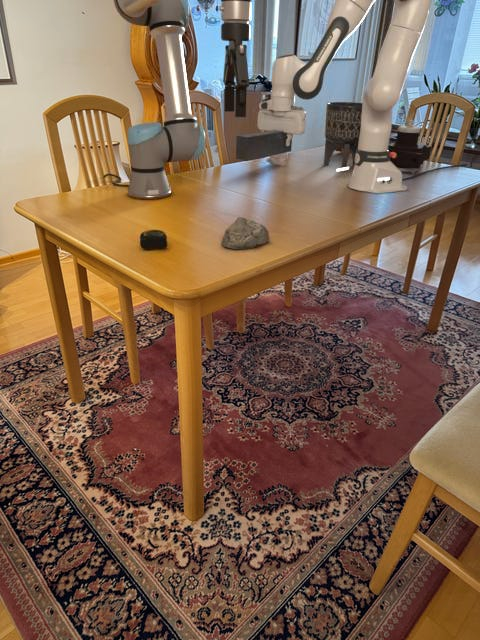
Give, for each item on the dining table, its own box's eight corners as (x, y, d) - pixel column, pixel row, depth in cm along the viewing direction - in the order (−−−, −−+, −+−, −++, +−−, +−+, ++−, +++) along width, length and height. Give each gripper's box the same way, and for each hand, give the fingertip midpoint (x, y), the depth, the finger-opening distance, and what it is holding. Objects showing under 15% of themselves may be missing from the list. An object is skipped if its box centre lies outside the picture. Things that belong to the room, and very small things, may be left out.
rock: (255, 233, 128) (256, 211, 124) (276, 242, 122) (278, 219, 119) (217, 244, 120) (217, 220, 117) (239, 254, 115) (239, 230, 111)
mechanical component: (377, 119, 195) (405, 114, 215) (369, 169, 206) (397, 160, 225) (427, 124, 183) (452, 118, 203) (415, 177, 194) (441, 167, 213)
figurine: (292, 163, 215) (294, 134, 209) (276, 168, 204) (278, 138, 198) (278, 161, 219) (279, 133, 212) (261, 166, 208) (262, 136, 202)
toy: (334, 147, 234) (333, 142, 247) (337, 160, 237) (336, 154, 250) (356, 140, 231) (354, 135, 243) (359, 153, 234) (356, 147, 246)
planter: (313, 167, 208) (319, 103, 195) (331, 160, 222) (338, 101, 209) (353, 173, 199) (362, 107, 185) (369, 166, 213) (379, 104, 199)
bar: (280, 149, 180) (282, 128, 176) (291, 151, 178) (292, 129, 174) (235, 159, 162) (236, 135, 158) (246, 161, 159) (247, 137, 155)
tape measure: (140, 252, 115) (139, 238, 113) (141, 242, 120) (140, 229, 119) (167, 251, 116) (166, 237, 114) (167, 241, 121) (166, 228, 120)
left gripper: (212, 24, 125) (213, 109, 135) (232, 19, 104) (231, 119, 115) (238, 25, 126) (237, 109, 137) (263, 20, 106) (259, 119, 116)
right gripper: (310, 106, 164) (307, 147, 171) (265, 102, 175) (264, 140, 182) (301, 107, 160) (297, 149, 167) (255, 103, 171) (254, 142, 178)
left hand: (234, 114), depth 126 cm, fingers open, 13 cm apart
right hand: (279, 144), depth 175 cm, fingers closed on bar, 5 cm apart
